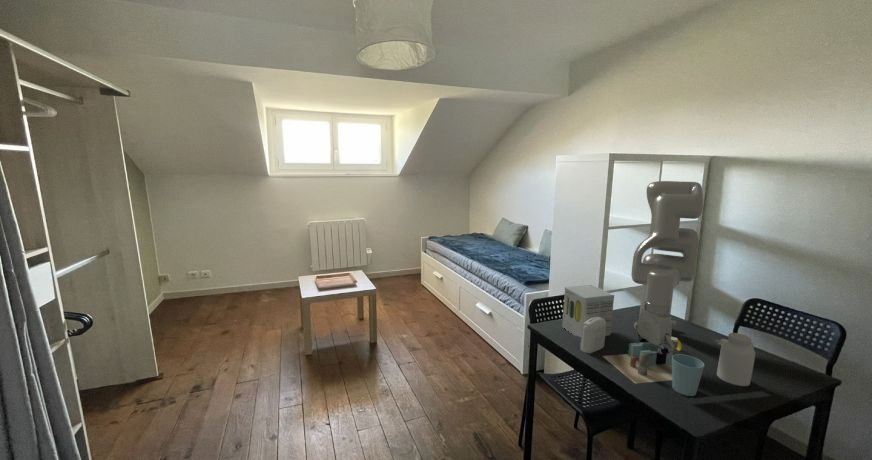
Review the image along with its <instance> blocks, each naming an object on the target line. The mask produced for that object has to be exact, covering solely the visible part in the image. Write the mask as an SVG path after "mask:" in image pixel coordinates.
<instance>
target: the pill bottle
mask: <svg viewBox="0 0 872 460" xmlns="http://www.w3.org/2000/svg"><path fill="white" fill-rule="evenodd" d="M727 340H728V341H725V342H723V343H722V345H720V346H721V347H720V352H719V353H720V354H719V357H718V358H719V359H718V365H717V369H716V370H717V371H716V375H717V377H718V378H719V379H720V380H722V381H724V382H726V383H729V384H731V385H735V386H740V387H748V386H750V385H751V381H752V376H753V371H754V365H755V360H756V351H755V349H754V348H752V347H751V341H752V338H751V337H750V336H748V335H746V334H743V333H738V332H730V333H729V334H728V335H727Z"/></svg>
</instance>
